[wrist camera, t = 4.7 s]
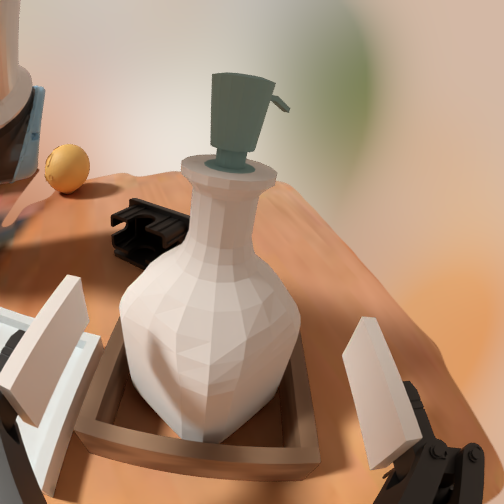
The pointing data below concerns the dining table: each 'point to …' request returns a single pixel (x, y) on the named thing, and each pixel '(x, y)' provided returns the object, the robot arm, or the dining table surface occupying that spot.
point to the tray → (55, 403)
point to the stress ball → (67, 168)
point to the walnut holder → (192, 452)
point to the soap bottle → (214, 287)
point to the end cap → (147, 232)
